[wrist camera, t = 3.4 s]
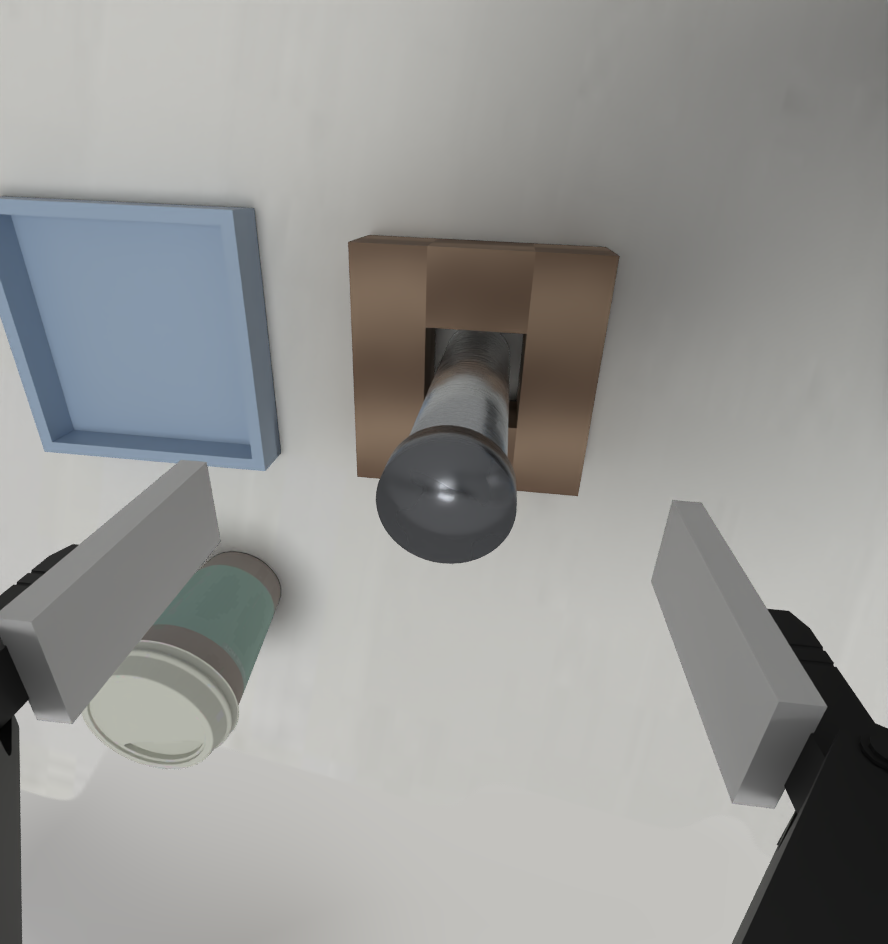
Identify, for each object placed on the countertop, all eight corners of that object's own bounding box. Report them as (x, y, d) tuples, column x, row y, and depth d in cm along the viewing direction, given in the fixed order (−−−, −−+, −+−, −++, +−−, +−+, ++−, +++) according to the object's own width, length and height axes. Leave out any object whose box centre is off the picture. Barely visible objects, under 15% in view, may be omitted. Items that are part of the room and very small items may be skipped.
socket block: (368, 235, 28) (348, 241, 25) (606, 247, 27) (619, 256, 24) (373, 446, 34) (357, 476, 30) (571, 462, 33) (577, 495, 29)
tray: (2, 196, 30) (-39, 196, 27) (254, 208, 28) (232, 210, 26) (73, 435, 36) (44, 451, 34) (280, 453, 35) (265, 470, 33)
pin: (441, 316, 30) (374, 435, 16) (519, 321, 30) (523, 448, 15) (438, 390, 32) (377, 556, 18) (511, 396, 32) (509, 569, 17)
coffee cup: (179, 604, 42) (66, 745, 32) (195, 517, 38) (72, 645, 28) (285, 643, 43) (209, 793, 32) (312, 561, 39) (235, 702, 28)
